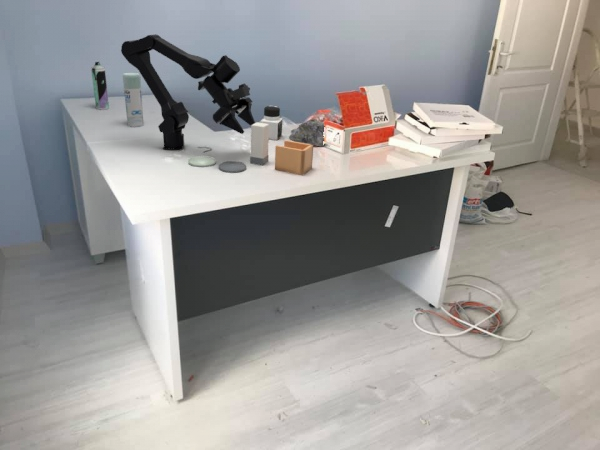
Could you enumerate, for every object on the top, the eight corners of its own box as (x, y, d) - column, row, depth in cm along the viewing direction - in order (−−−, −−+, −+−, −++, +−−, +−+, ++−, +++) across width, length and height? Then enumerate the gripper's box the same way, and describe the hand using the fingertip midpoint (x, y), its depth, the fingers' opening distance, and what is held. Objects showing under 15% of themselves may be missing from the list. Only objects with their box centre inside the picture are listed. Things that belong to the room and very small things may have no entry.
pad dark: (218, 172, 157) (218, 170, 157) (218, 163, 165) (218, 160, 165) (246, 172, 159) (246, 170, 158) (246, 163, 167) (246, 161, 166)
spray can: (106, 110, 221) (101, 63, 212) (94, 109, 221) (88, 62, 212) (110, 107, 226) (105, 61, 217) (98, 106, 226) (93, 60, 217)
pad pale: (187, 166, 161) (187, 164, 160) (189, 157, 169) (189, 155, 168) (215, 167, 162) (215, 164, 161) (216, 158, 170) (216, 156, 169)
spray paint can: (146, 126, 201) (142, 75, 192) (130, 127, 197) (125, 75, 189) (141, 122, 206) (136, 72, 197) (125, 123, 202) (120, 73, 194)
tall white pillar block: (250, 163, 167) (250, 125, 162) (256, 159, 171) (256, 122, 166) (262, 165, 166) (263, 127, 160) (268, 161, 170) (269, 124, 164)
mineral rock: (287, 143, 191) (288, 117, 187) (303, 137, 199) (304, 112, 195) (315, 150, 185) (317, 123, 180) (330, 144, 193) (332, 118, 188)
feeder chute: (311, 168, 166) (313, 144, 163) (302, 175, 160) (304, 151, 156) (284, 162, 170) (285, 140, 166) (274, 169, 163) (275, 146, 159)
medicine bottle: (277, 140, 193) (278, 109, 188) (259, 138, 194) (260, 107, 189) (281, 135, 200) (283, 105, 194) (264, 133, 201) (265, 104, 195)
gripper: (220, 80, 151) (253, 121, 153) (247, 72, 167) (276, 109, 169) (198, 103, 157) (230, 142, 159) (226, 93, 173) (255, 129, 175)
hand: (249, 129), depth 165 cm, fingers open, 9 cm apart
